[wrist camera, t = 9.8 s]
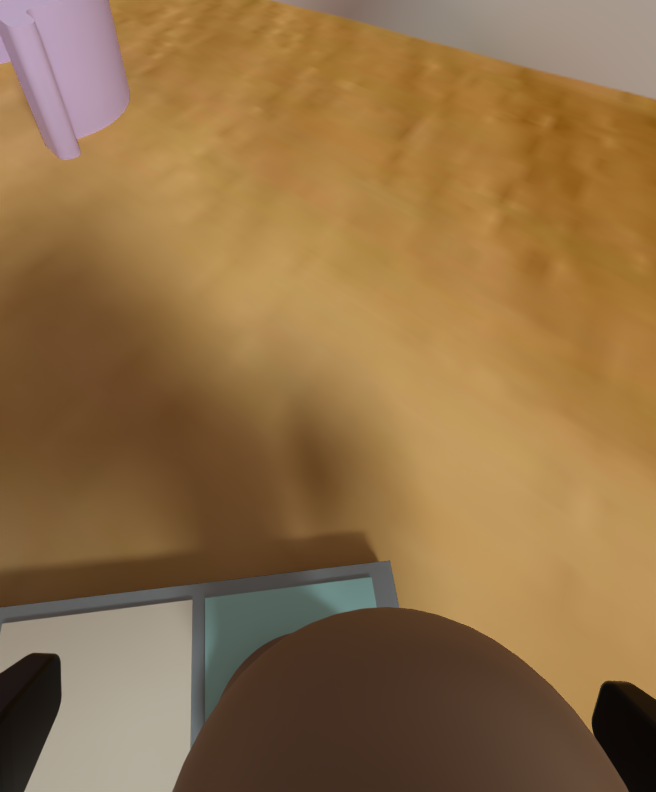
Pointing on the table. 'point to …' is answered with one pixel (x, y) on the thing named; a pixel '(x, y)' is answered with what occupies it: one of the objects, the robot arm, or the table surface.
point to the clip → (65, 66)
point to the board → (162, 665)
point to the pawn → (392, 716)
